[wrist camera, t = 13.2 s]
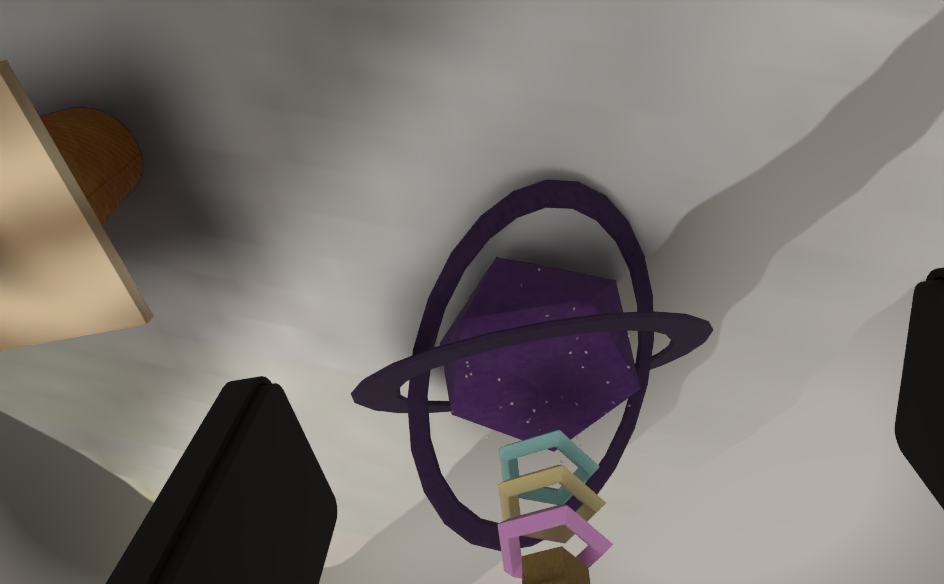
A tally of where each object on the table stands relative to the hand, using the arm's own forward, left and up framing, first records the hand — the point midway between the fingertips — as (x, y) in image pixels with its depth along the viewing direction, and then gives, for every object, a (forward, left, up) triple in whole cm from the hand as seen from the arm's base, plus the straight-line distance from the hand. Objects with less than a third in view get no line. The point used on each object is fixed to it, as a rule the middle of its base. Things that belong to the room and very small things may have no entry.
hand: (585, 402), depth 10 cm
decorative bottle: (+19, -3, -34) cm, 39 cm away
